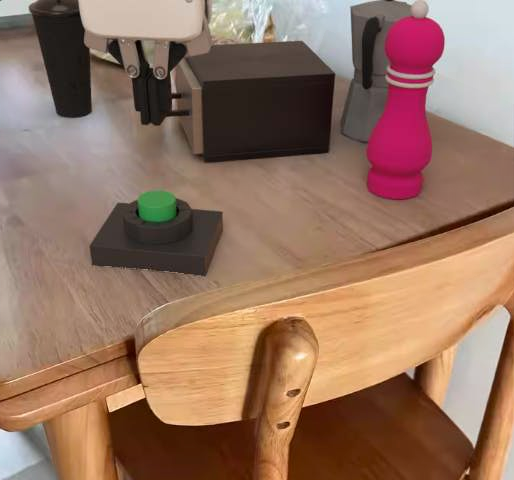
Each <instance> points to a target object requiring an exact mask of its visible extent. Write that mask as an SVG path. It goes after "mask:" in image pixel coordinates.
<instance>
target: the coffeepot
mask: <svg viewBox="0 0 514 480" xmlns="http://www.w3.org/2000/svg"><path fill="white" fill-rule="evenodd" d="M411 6H412V4H409V3H407V2H406V1H400V0H372V1H366V2H362V3H360V4H358V3H357V4H354V5H350V7H349V8H350V26H351V27H350V29H351V30H350V31H351V32H350V33H351V35H350V36H351V57H352V59H351V60H352V65H353V67H354V68H353V69H354V71H353V78H352V79H351V80H350V84H349V88H348V92H347V95H346V99H345V103H344V106H343V111H342V113H341V114H342V115H341V118H340V123H339V124H340V130H341V133H342V134H343V135H344V136H346V137H347V138H348V139H351V140H354V141H357V142H361V143H366V144H368V140H369V138H370V135H371V133H372V131H373V129H374V128H375V126H376V124H377V123H378V121H379V119H380V117H381V115H382V114H383V111H384V108H385V106H386V102H387V97H388V88H389V82H387V81H386V79H385V77H386V75H387V66H388V65H389V64H391V62H390V60H389V59H388V57H387V56H386V53H385V39H386V36H387V33H388V31H389V29H390V28H391V26H392V25H393V24H394V23H395V22H397V21H398V20H400V19H402V18H404V17H408V16H412V15H411V12H410V9H411ZM425 17H427V15H426V16H425Z"/></svg>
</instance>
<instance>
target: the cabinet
mask: <svg viewBox="0 0 514 480" xmlns="http://www.w3.org/2000/svg"><path fill="white" fill-rule="evenodd" d="M186 59H187V61H188V63H189V65H190V67H191V69H192V70H193V72H194V74H195V76H196V78H197V79H198V80H199V82H200V84H201V86H202V107H203V144H204V153H202V154H200V155H201V157H202V159H203V161H204V163H207V164H208V163H218V162H230V161H242V160H243V161H244V160H256V159H268V158H280V157H293V156H304V155H305V156H306V155H318V154H329V152H330V143H331V131H332V130H331V129H332V119H333V118H332V117H333V106H334V97H335V96H334V93H335V84H336V83H335V82H336V72H335V71H334V70H333V69H331V68H330V66H329V65H327V64H326V62H325V61H324V60H322V58H321V57H319V56H318V54H317V53H315V52H314V50H312V49H311V48H310V47H309V45H307V44H306V43H305V42H304V40H290V41H289V40H287V41H285V40H284V41H269V42H268V41H267V42H248V43H246V42H245V43H226V44H213V46H212V48H211V49H210V51H209V52H208V53H206V54H201V55H197V56H192V57H186Z"/></svg>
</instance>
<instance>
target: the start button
mask: <svg viewBox="0 0 514 480" xmlns="http://www.w3.org/2000/svg"><path fill="white" fill-rule="evenodd" d="M176 198H177V197H176V196H175V194H174V193H172V192H170V191H166V190H159V189H157V190H150V191H145V192H143V193H141V194H140V195H139V196H138V197H137V200H138V210H139V217H140V218H141V219H143V220H145V221H154V222H161V221H167V220H170V219H172V218H174V217H176V214H177V212H176Z"/></svg>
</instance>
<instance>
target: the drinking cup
mask: <svg viewBox="0 0 514 480" xmlns="http://www.w3.org/2000/svg"><path fill="white" fill-rule="evenodd" d="M28 12H29V13H30V14H31V17H32V20H33V24H34V27H35V32H36V35H37V41H38V43H39V49H40V52H41V56H42V60H43V64H44V68H45V72H46V77H47V79H48V84H49V88H50V89H49V90H50V92H51V96H52V101H53V104H54V108H55V109H54V110H55V112H56V115H58V116H60V117H63V118H81V117H85V116H88V115H90V114H91V113H92V110H93V106H92V104H93V103H92V77H91V75H92V73H91V72H92V71H91V48H88V47H87V46H86V45H85V43H84V35H85V28H84V26H83V24H82V20H81V15H80V9H79V2H78V0H36V1H34V2H32V3H30V4H29V5H28Z"/></svg>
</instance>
